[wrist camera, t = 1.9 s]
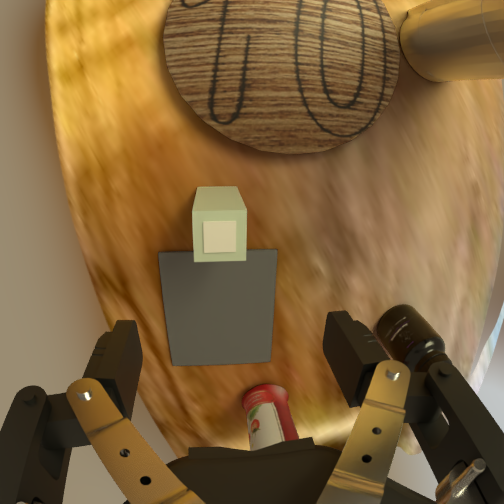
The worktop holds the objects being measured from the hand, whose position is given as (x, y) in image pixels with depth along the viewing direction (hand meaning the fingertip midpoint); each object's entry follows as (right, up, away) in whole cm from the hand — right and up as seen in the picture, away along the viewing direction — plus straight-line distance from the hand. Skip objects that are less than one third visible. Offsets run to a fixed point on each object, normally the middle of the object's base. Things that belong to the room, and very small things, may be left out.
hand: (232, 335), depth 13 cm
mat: (-3, -4, +25) cm, 26 cm away
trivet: (+4, +25, +15) cm, 30 cm away
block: (-3, +8, +20) cm, 22 cm away
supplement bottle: (+22, -7, +30) cm, 37 cm away
